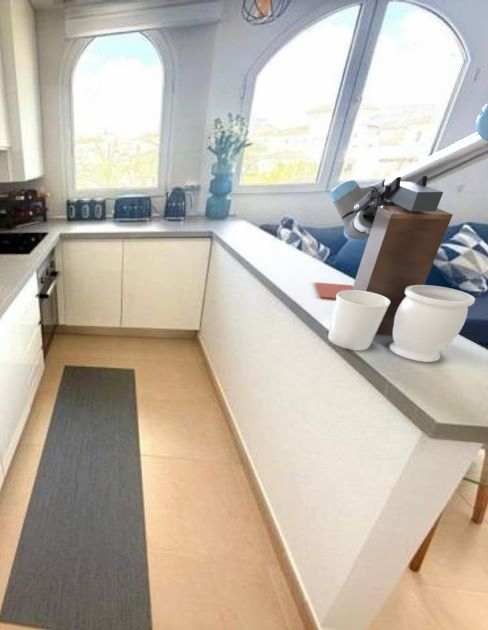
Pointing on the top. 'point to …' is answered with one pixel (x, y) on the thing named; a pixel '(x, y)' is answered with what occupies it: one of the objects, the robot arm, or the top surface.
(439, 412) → the top surface
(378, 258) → the stand
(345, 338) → the white flower pot
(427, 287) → the jar
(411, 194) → the slim box
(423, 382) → the top surface
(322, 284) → the mat
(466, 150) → the robot arm
